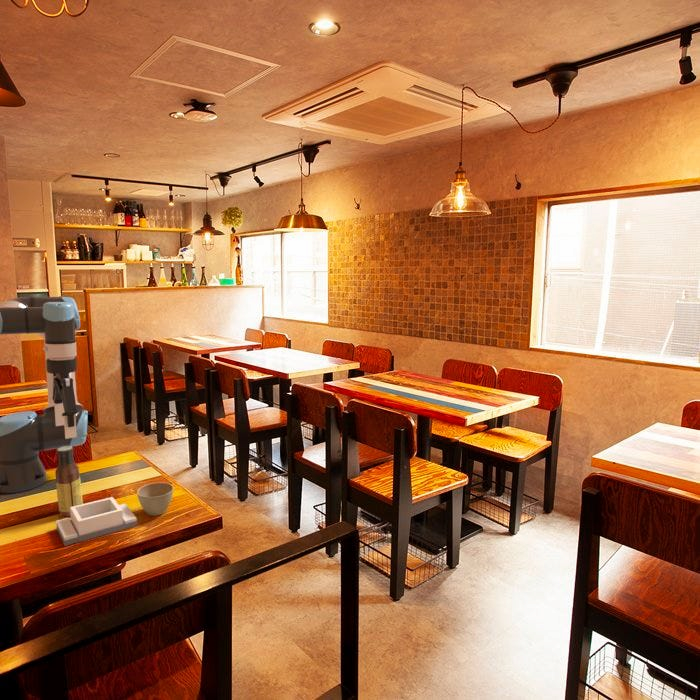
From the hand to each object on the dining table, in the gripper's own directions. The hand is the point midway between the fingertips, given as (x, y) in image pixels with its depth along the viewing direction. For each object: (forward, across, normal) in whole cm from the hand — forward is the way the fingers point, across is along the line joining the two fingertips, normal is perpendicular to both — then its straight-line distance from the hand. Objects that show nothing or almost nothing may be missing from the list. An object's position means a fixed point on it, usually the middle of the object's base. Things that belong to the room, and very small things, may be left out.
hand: (65, 431), depth 146 cm
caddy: (+25, +13, +4) cm, 28 cm away
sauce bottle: (+25, 0, 0) cm, 25 cm away
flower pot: (+25, +14, +20) cm, 35 cm away
